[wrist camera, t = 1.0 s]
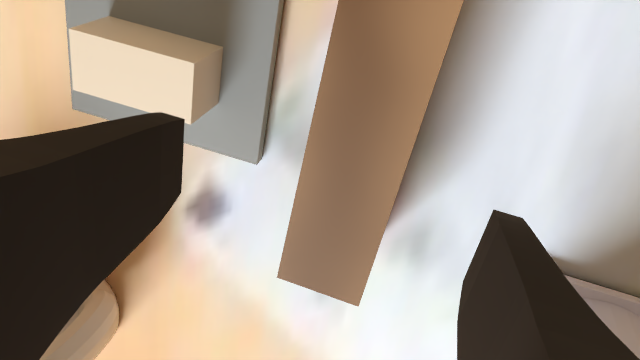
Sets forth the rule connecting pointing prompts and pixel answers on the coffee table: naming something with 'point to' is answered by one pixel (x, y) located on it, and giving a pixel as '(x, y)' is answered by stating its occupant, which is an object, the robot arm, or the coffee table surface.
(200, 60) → the stand
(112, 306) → the cup
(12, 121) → the coffee table surface
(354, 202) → the case
